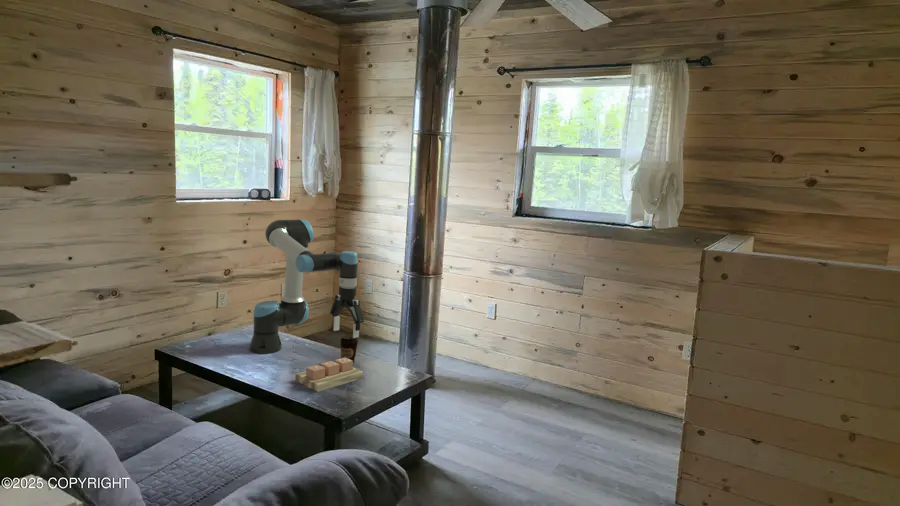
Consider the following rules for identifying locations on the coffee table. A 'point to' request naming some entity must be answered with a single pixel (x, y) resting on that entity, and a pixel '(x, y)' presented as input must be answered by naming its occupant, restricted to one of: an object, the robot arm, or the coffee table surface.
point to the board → (329, 379)
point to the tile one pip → (315, 372)
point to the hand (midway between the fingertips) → (345, 333)
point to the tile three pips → (344, 364)
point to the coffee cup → (348, 347)
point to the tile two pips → (330, 368)
